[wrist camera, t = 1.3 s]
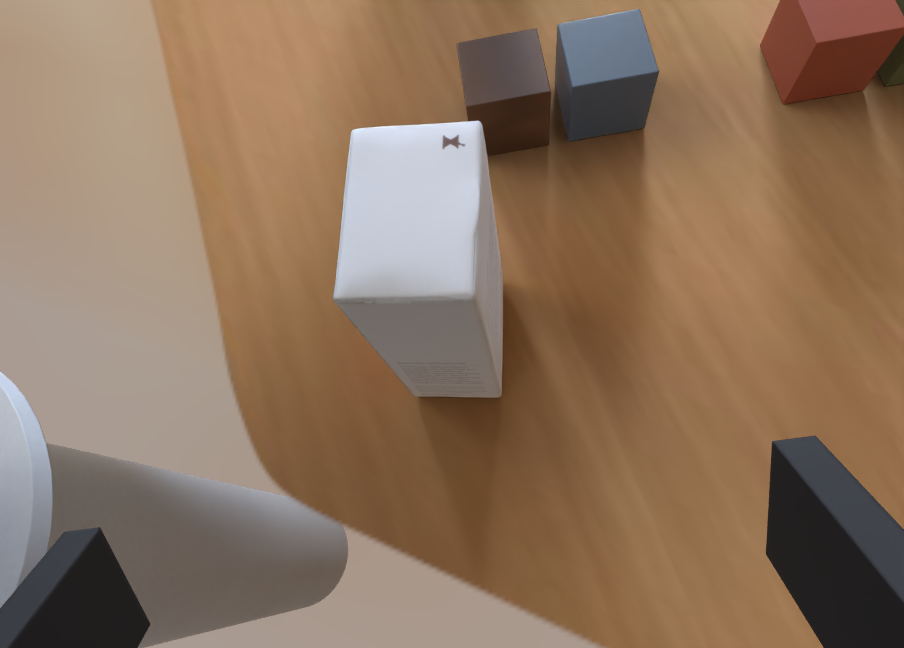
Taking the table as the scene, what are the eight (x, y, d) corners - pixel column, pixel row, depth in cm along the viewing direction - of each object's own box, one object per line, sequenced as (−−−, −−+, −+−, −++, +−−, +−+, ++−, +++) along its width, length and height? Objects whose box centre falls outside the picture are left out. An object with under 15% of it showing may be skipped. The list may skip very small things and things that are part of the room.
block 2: (567, 142, 32) (572, 87, 28) (554, 83, 33) (557, 23, 29) (644, 128, 31) (659, 71, 28) (627, 69, 33) (639, 7, 29)
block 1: (473, 158, 32) (465, 106, 28) (464, 99, 33) (456, 42, 30) (548, 145, 32) (550, 91, 28) (536, 86, 33) (536, 27, 29)
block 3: (782, 104, 31) (817, 43, 27) (759, 45, 32) (788, -21, 28) (864, 90, 30) (909, 26, 27) (836, 31, 32) (876, -37, 28)
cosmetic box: (418, 281, 30) (349, 121, 19) (504, 280, 29) (486, 114, 18) (410, 401, 28) (326, 301, 17) (503, 403, 27) (481, 299, 16)
